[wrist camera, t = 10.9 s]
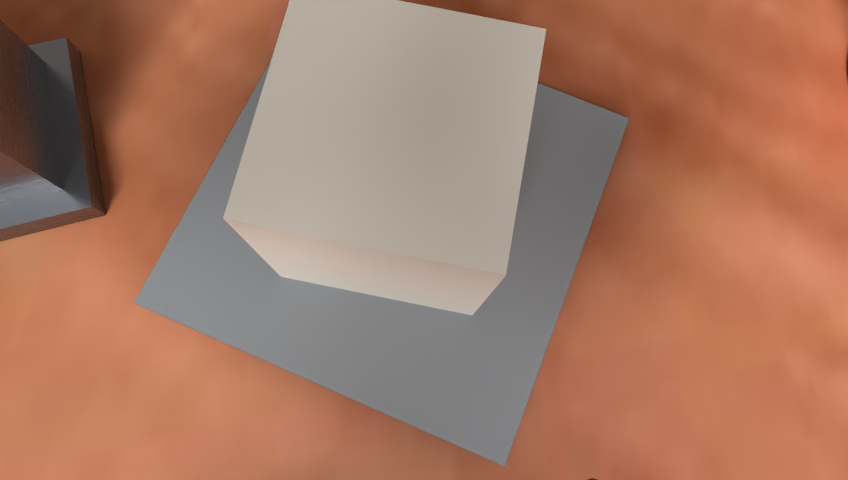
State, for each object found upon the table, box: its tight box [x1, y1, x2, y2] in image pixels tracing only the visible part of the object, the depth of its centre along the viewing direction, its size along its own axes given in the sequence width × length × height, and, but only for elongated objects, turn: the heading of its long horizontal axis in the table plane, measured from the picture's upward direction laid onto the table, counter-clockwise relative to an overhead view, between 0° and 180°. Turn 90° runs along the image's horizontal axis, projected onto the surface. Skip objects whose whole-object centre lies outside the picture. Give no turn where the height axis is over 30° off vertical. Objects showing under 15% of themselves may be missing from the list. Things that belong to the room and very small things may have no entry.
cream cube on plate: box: [223, 0, 546, 315], centre depth 18 cm, size 7×7×7 cm
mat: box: [134, 59, 629, 467], centre depth 22 cm, size 14×14×1 cm
